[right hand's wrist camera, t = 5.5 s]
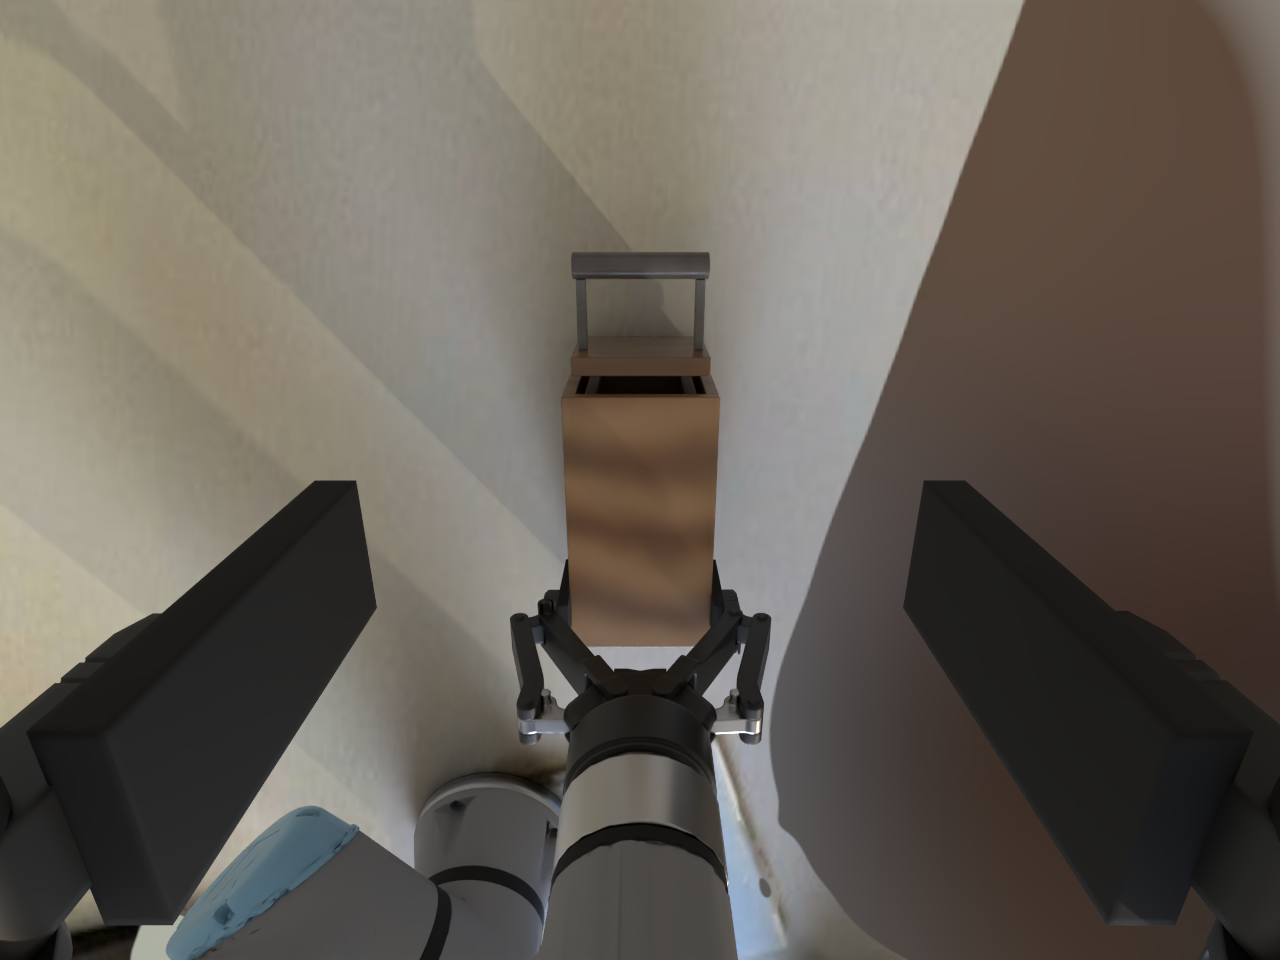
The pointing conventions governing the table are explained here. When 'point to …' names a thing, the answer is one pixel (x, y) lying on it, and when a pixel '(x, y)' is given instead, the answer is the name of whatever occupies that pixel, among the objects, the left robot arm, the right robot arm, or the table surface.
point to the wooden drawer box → (640, 513)
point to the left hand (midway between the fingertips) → (640, 574)
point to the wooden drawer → (640, 358)
